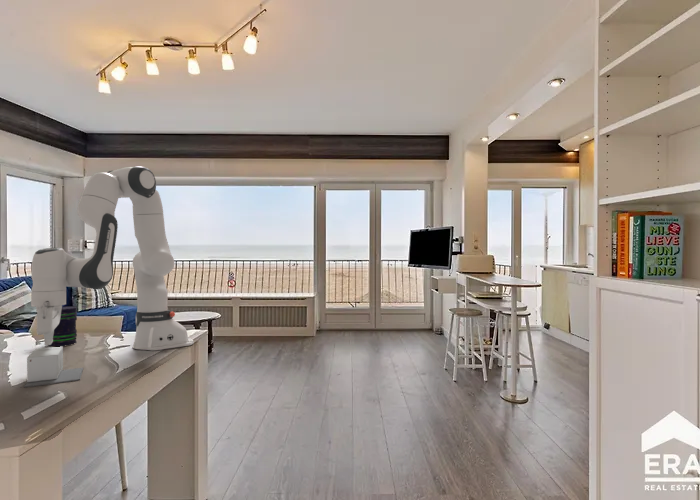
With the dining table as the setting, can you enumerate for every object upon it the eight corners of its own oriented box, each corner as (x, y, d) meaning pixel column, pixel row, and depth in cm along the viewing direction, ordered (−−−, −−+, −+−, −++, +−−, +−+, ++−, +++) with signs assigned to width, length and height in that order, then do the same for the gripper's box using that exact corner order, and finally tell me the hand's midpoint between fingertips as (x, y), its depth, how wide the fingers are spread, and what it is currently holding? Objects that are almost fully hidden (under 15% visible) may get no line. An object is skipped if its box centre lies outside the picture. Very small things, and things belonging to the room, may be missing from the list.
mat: (83, 368, 133) (83, 367, 133) (79, 380, 121) (79, 379, 121) (33, 374, 127) (33, 373, 127) (24, 387, 115) (24, 386, 115)
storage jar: (71, 340, 176) (71, 305, 176) (81, 343, 170) (81, 307, 171) (43, 344, 168) (43, 308, 168) (52, 347, 162) (53, 310, 163)
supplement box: (34, 371, 128) (25, 382, 117) (35, 348, 129) (26, 356, 118) (63, 369, 132) (57, 379, 121) (64, 345, 132) (57, 354, 121)
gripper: (57, 302, 121) (56, 349, 121) (64, 296, 139) (64, 337, 138) (30, 304, 118) (29, 352, 118) (41, 297, 135) (41, 339, 135)
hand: (48, 344), depth 128 cm, fingers closed
